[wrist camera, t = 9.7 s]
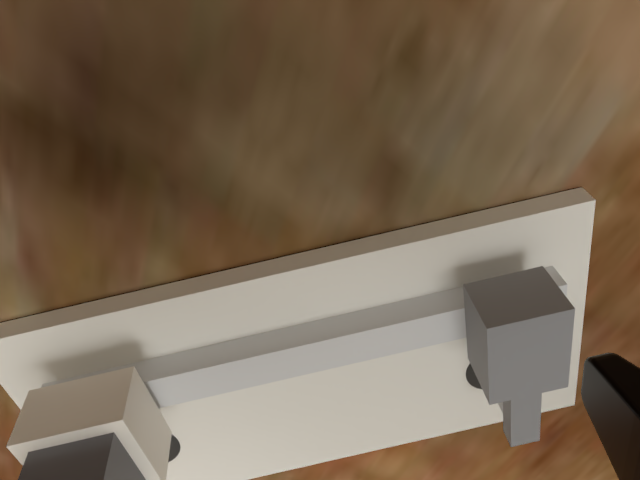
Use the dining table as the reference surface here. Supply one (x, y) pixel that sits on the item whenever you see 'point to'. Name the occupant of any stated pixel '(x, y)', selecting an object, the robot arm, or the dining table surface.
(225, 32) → the dining table surface
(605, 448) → the robot arm
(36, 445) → the block
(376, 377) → the plate
